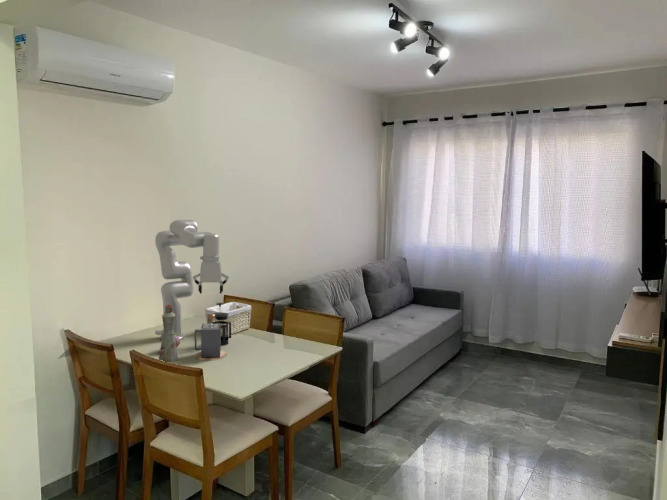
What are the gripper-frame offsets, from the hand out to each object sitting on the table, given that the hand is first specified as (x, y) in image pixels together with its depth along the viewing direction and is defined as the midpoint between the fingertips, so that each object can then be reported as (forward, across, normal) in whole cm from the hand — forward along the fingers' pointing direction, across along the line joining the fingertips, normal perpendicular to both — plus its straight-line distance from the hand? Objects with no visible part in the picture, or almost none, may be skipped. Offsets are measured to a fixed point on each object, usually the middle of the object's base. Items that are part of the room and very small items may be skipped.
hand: (210, 293), depth 251 cm
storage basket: (+33, +8, +45) cm, 56 cm away
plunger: (+30, 0, -1) cm, 30 cm away
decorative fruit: (+33, -21, +10) cm, 40 cm away
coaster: (+32, 0, -1) cm, 32 cm away
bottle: (+33, -20, -5) cm, 38 cm away
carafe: (+32, -1, -1) cm, 32 cm away
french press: (+33, +4, +18) cm, 38 cm away
